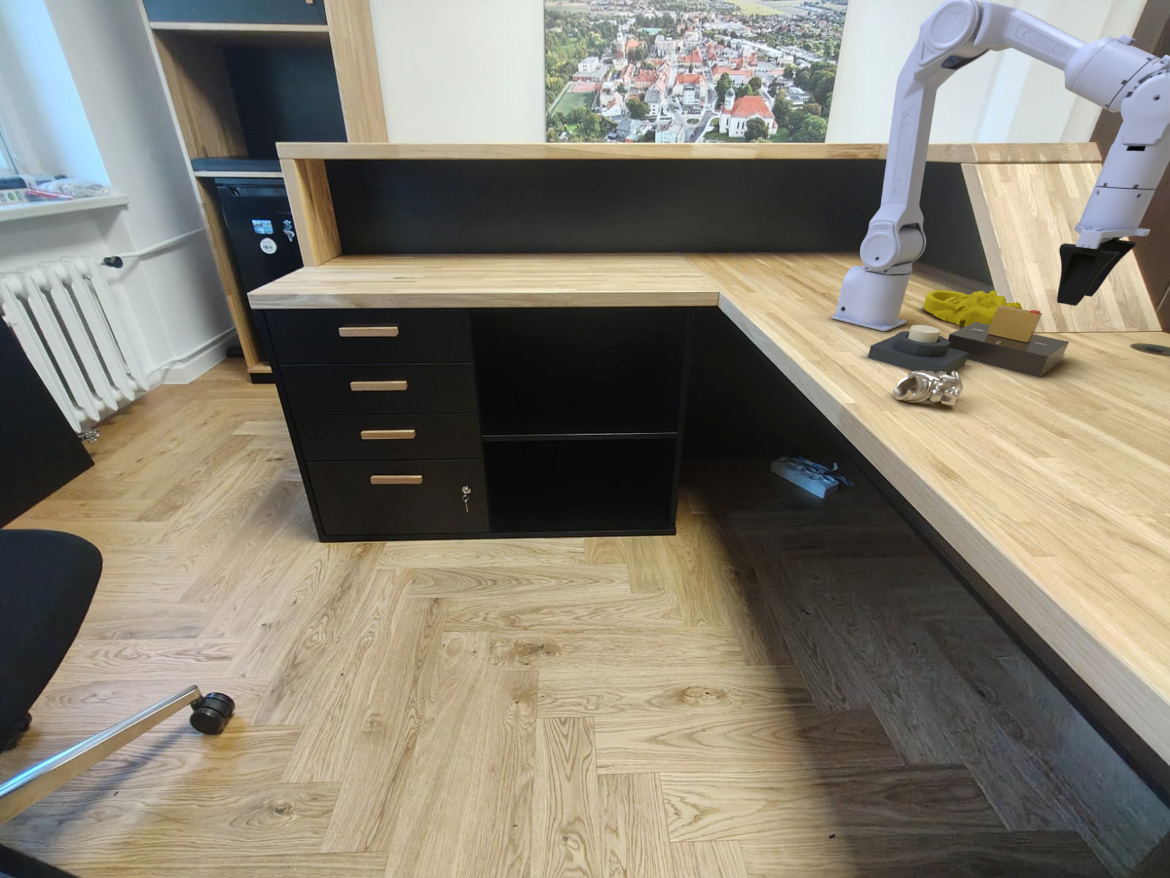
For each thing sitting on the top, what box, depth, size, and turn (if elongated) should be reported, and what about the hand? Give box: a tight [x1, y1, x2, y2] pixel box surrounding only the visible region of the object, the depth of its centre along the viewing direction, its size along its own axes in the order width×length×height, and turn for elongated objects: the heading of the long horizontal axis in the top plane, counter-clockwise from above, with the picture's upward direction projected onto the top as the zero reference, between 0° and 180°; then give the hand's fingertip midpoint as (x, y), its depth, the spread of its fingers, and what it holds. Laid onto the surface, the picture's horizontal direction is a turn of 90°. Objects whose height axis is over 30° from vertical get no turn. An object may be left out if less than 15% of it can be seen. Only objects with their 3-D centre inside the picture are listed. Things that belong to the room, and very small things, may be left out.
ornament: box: [892, 370, 964, 406], centre depth 66 cm, size 8×7×4 cm
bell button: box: [908, 324, 941, 343], centre depth 77 cm, size 4×4×2 cm
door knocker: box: [922, 289, 1022, 328], centre depth 99 cm, size 17×16×4 cm
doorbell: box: [867, 330, 969, 376], centre depth 78 cm, size 10×8×4 cm
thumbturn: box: [988, 305, 1043, 343], centre depth 78 cm, size 5×1×4 cm, turn 39°
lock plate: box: [947, 322, 1070, 378], centre depth 80 cm, size 12×10×3 cm
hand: (1074, 299), depth 74 cm, fingers open, 7 cm apart
